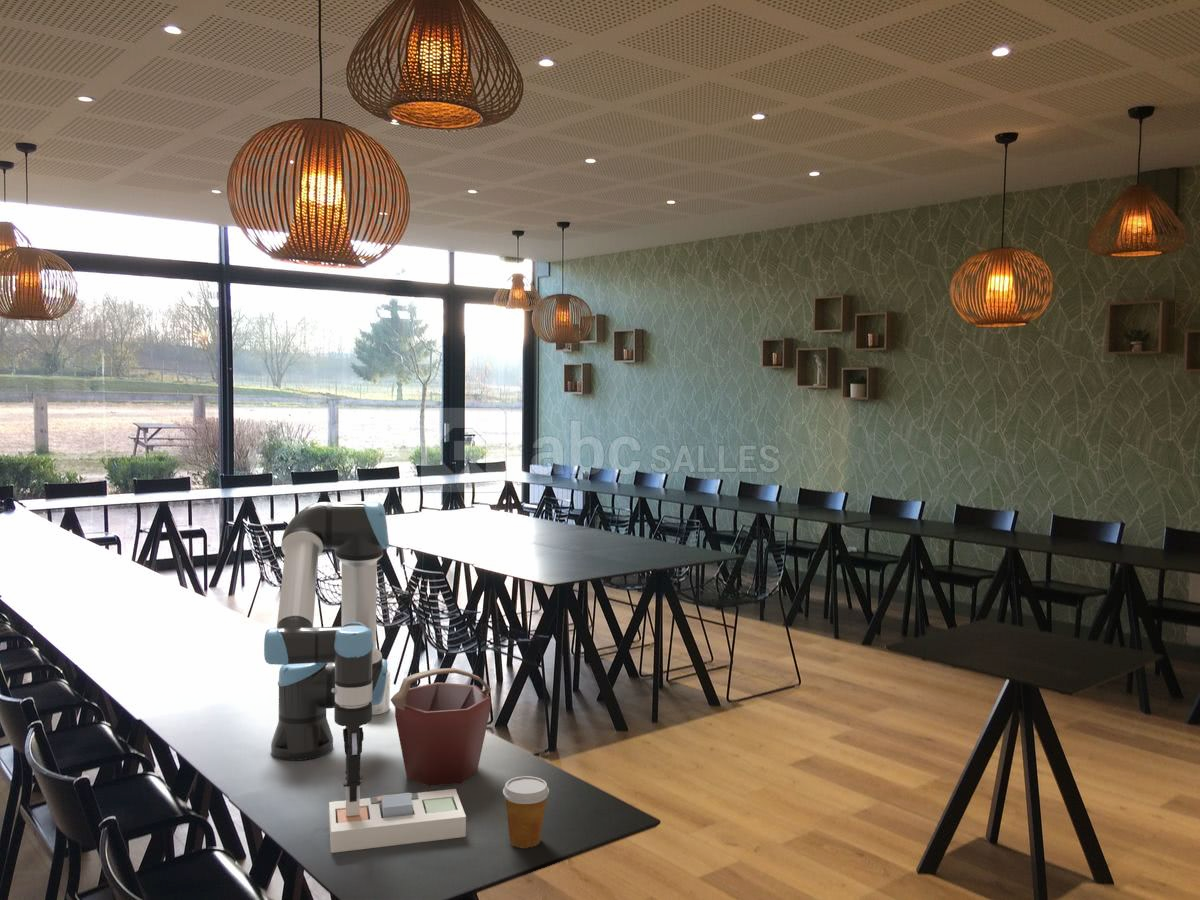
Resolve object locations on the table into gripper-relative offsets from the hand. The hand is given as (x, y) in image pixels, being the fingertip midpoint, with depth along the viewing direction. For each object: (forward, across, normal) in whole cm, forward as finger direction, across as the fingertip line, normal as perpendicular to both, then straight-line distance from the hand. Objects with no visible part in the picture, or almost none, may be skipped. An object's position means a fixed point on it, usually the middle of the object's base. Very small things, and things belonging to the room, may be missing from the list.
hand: (352, 814), depth 195 cm
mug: (+4, -75, +9) cm, 76 cm away
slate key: (+1, 0, +9) cm, 9 cm away
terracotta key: (+3, 0, 0) cm, 3 cm away
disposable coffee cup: (+5, +12, +34) cm, 36 cm away
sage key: (+3, 0, +18) cm, 18 cm away
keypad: (+4, 0, +9) cm, 10 cm away
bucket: (+5, -28, +22) cm, 36 cm away
